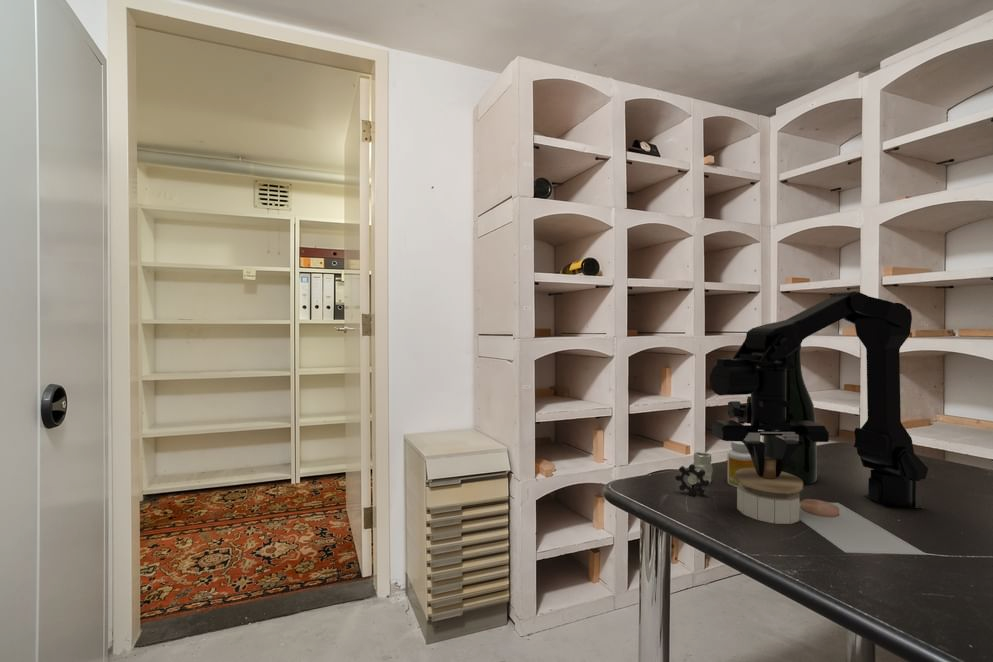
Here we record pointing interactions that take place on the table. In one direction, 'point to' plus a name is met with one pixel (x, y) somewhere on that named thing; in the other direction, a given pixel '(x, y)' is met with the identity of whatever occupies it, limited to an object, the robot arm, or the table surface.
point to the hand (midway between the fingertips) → (768, 476)
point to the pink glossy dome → (819, 508)
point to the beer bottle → (799, 410)
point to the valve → (697, 473)
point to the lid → (769, 479)
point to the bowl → (768, 505)
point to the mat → (856, 533)
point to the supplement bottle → (737, 461)
